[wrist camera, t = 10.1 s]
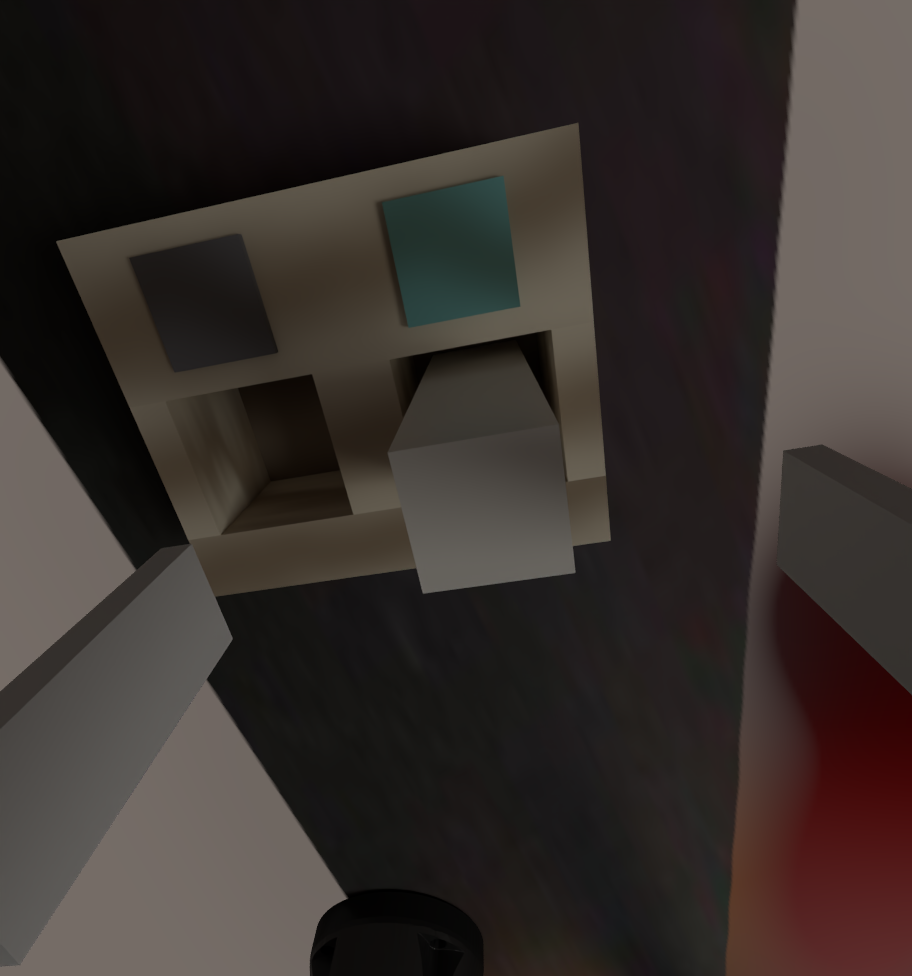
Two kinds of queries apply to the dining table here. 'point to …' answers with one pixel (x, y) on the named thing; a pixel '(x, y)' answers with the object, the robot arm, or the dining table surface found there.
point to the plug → (482, 473)
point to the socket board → (342, 345)
